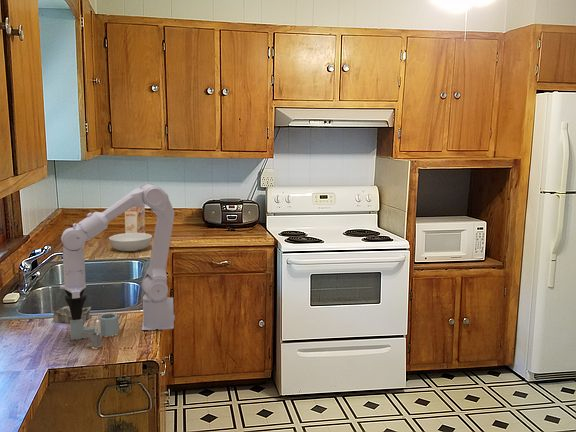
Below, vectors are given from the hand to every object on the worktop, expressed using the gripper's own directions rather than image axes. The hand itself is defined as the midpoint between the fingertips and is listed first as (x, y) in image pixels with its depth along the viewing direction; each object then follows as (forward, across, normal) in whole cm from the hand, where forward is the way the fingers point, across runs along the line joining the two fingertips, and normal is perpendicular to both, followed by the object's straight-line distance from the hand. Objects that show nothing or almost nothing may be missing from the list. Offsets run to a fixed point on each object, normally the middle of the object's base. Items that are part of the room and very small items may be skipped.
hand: (76, 315), depth 157 cm
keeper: (+7, +9, +3) cm, 12 cm away
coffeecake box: (+7, -140, +35) cm, 145 cm away
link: (+7, 0, +5) cm, 8 cm away
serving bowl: (+7, -114, +30) cm, 118 cm away
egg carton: (+7, -17, -1) cm, 18 cm away
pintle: (+7, +5, +6) cm, 10 cm away
